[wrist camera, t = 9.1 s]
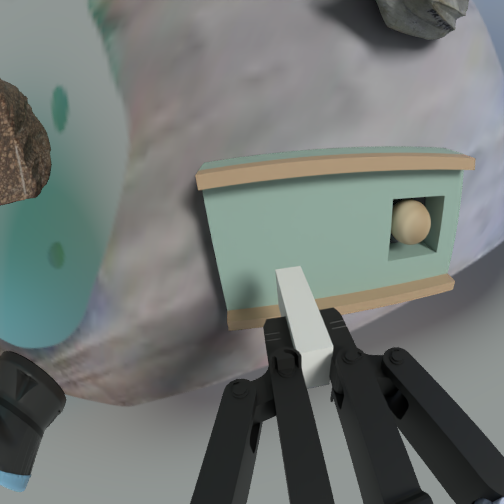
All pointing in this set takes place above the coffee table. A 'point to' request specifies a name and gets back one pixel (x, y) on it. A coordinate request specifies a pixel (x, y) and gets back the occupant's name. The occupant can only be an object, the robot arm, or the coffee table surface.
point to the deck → (330, 226)
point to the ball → (410, 222)
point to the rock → (21, 148)
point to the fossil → (422, 16)
